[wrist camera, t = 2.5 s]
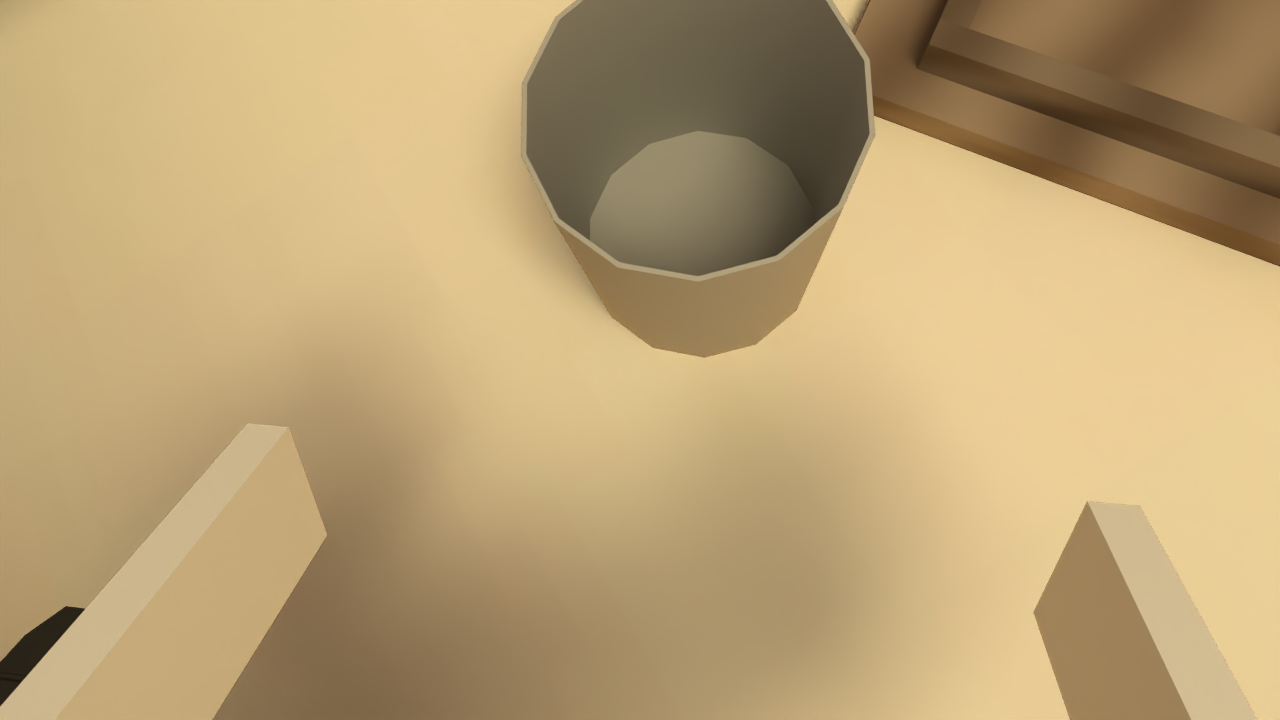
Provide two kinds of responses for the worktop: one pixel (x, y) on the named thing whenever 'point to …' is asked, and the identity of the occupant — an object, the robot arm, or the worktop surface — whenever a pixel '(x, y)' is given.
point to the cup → (698, 156)
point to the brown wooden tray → (1101, 99)
